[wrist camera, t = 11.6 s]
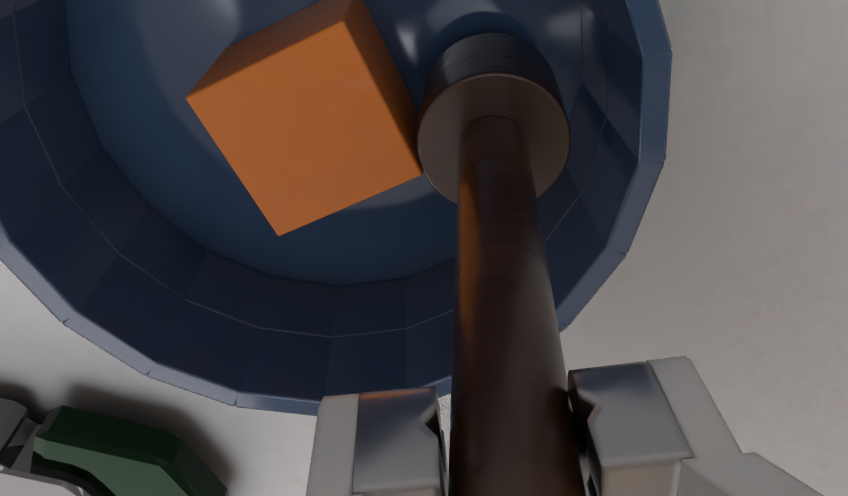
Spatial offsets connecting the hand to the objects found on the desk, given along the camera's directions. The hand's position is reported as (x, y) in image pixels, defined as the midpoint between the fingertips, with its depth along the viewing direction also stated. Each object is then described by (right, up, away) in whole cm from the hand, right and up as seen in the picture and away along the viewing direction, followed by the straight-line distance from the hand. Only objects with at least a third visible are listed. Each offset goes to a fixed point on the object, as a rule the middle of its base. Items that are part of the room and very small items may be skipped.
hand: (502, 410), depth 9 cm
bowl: (-4, +7, +10) cm, 13 cm away
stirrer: (+1, +6, +9) cm, 11 cm away
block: (-4, +7, +10) cm, 13 cm away
